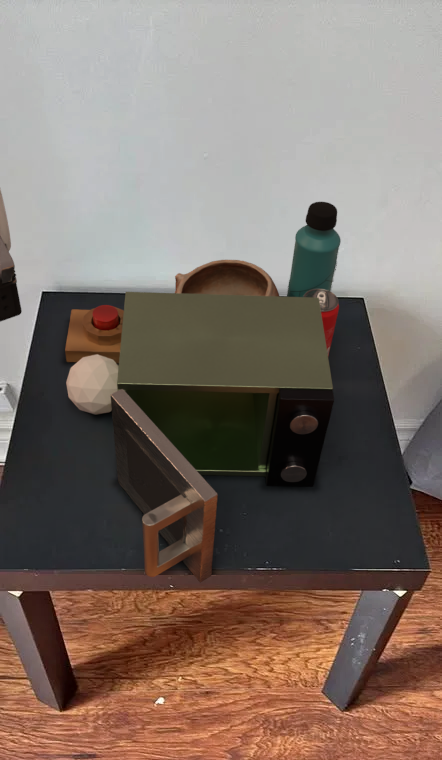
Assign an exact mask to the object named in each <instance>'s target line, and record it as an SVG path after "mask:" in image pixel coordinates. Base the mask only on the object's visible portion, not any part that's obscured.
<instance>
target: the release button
mask: <svg viewBox="0 0 442 760" xmlns="http://www.w3.org/2000/svg"><path fill="white" fill-rule="evenodd" d="M115 307H116V306H113V305H109V304H101V305H98V306H97V307H94V308H95V309H94V308H93V309H94V310H93V313H92V315H93V324H94V326H95V327H96V328H97V329H99V330H112V329H114V328H116V327H117V326H118V324H119V318H118V311H117V309H116V308H117V307H116V308H115Z"/></svg>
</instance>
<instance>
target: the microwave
mask: <svg viewBox="0 0 442 760" xmlns="http://www.w3.org/2000/svg"><path fill="white" fill-rule="evenodd" d="M123 311H124V315H123V325H122V336H121V346H120V357H119V363H118V366H119V368H118V378H117V389H118V391H119V390H121V389H123V390H124V391H125V392H126V393H127V394H128V395H129V396H130V397H131V399H132V400H133V401H134V402H135V403H136V404H137V405H138V406H139V407H140V408H141V410H142V411H143V412H144V413H145V414H146V415H147V416H148V417H149V418H150V420H151V421H152V422H153V423H154V424H155V425H156V426H157V427H158V428H159V430H160V431H161V432H162V433H163V434H164V435H165V436H166V437H167V438H168V439H169V441H170V442H171V443H172V444H173V445H174V446H175V447H176V448H177V449H178V451H179V452H180V453H181V454H182V455H183V456H184V457H185V458H186V459H187V461H188V462H189V463H190V464H191V465H192V466H193V467H194V468H195V469H196V470H197V472H198V473H199V474H200V475H201V476H220V477H221V476H224V477H227V476H228V477H265V485H266V486H282V487H283V486H287V487H288V486H289V487H314V484H315V480H316V476H317V472H318V469H319V465H320V460H321V456H322V452H323V448H324V444H325V440H326V436H327V431H328V427H329V423H330V420H331V417H332V416H331V415H332V411H333V408H334V403H335V396H334V385H333V381H332V373H331V367H330V360H329V356H328V353H327V347H326V341H325V334H324V328H323V322H322V315H321V309H320V302H319V298H313V297H287V296H280V295H279V296H249V295H216V294H184V293H175V292H153V291H151V292H147V291H125V295H124V305H123Z"/></svg>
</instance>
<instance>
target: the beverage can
mask: <svg viewBox="0 0 442 760" xmlns="http://www.w3.org/2000/svg"><path fill="white" fill-rule="evenodd" d="M303 297H313V298H319V302H320V309H321V315H322V322H323V328H324V334H325V341H326V347H327V353H328V357H329V356H330V351H331V347H332V343H333V337H334V333H335V329H336V328H335V327H336V324H337V319H338V314H339V310H340V305H339V299H338V297H337V295H336V294H335V293H334V292H332V291H331V292H330V291H328V290H325V289H312V290H309V291H307V292H306V293H305V294H304V296H303Z"/></svg>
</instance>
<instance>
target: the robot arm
mask: <svg viewBox="0 0 442 760" xmlns="http://www.w3.org/2000/svg"><path fill="white" fill-rule="evenodd" d="M11 247H12V240H11V233H10V225H9V221H8V216H7V211H6V207H5V202H4V197H3V193H2V189H1V188H0V323H1V322H3V321H6V320H9V319H12V318H15V317H18V316H20V315H21V314H22V306H21V300H20V295H19V289H18V284H17V283H18V281H17V274H16V270H15V268H16V266H15V262H14V259H13V257H12V255H11V253H10V250H11Z"/></svg>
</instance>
